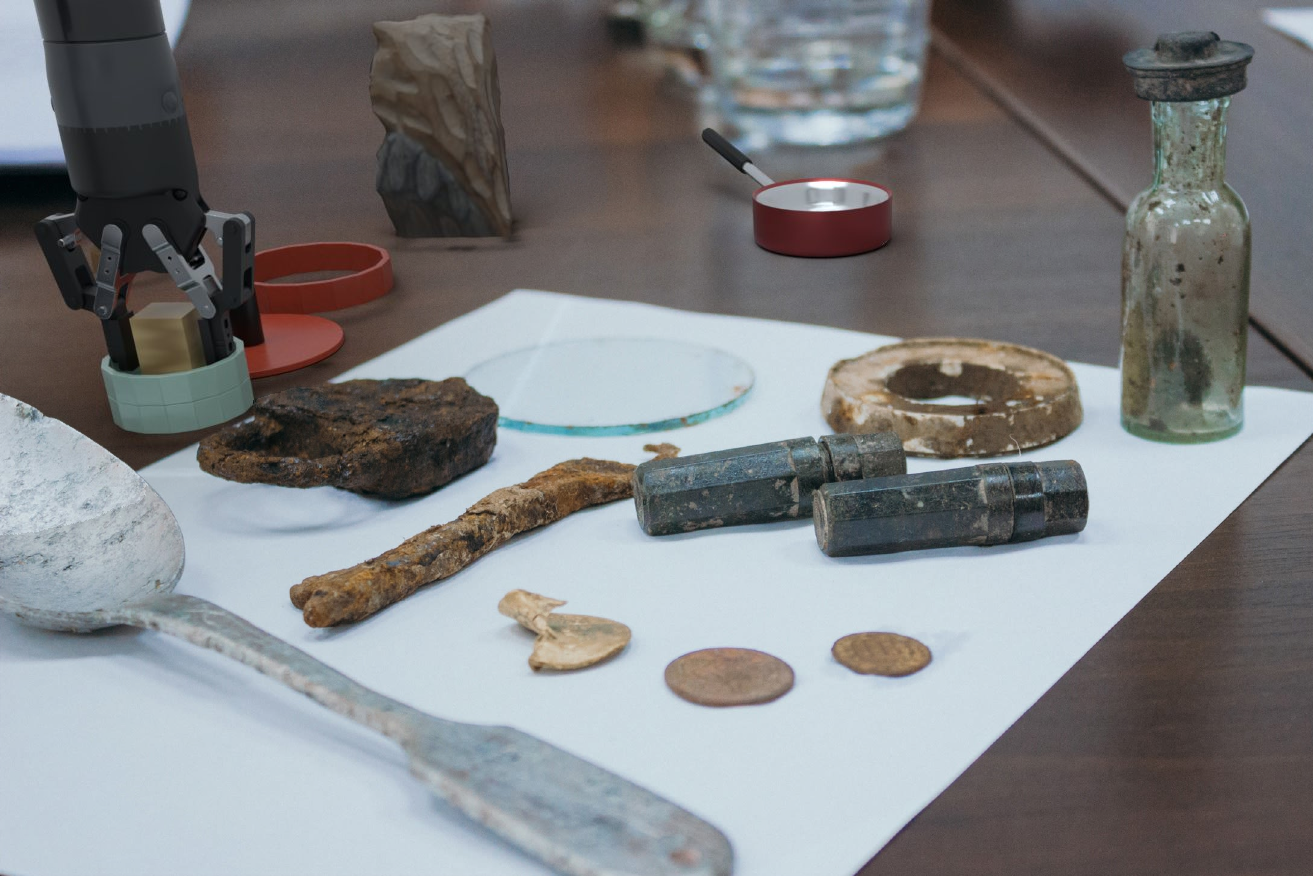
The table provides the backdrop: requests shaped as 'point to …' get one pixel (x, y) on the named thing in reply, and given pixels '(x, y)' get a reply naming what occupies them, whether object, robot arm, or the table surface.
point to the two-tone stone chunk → (440, 127)
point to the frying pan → (813, 210)
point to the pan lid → (282, 338)
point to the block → (168, 338)
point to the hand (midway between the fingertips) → (175, 366)
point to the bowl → (179, 395)
